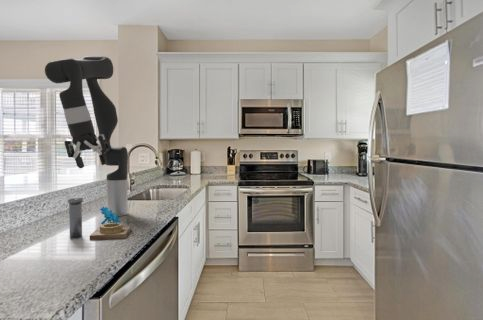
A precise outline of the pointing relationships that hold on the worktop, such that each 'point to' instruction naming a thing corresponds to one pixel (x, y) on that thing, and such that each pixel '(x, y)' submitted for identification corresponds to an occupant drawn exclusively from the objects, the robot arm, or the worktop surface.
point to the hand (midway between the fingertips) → (93, 166)
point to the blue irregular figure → (109, 216)
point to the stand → (110, 231)
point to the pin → (75, 217)
